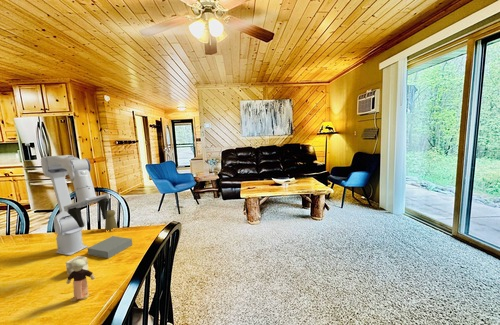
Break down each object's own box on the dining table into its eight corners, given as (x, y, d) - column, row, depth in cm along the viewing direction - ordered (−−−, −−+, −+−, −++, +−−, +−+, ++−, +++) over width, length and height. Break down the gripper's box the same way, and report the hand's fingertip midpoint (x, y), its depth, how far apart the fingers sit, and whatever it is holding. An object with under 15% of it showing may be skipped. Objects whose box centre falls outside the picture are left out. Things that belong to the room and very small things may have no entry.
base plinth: (88, 254, 93) (87, 248, 92) (113, 241, 104) (112, 235, 104) (108, 258, 89) (107, 251, 89) (132, 244, 100) (131, 238, 100)
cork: (111, 232, 115) (109, 212, 114) (102, 231, 117) (100, 212, 115) (120, 227, 121) (118, 208, 120) (111, 226, 123) (109, 208, 121)
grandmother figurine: (64, 305, 64) (59, 266, 62) (69, 297, 67) (64, 259, 66) (95, 297, 67) (91, 259, 65) (98, 289, 70) (94, 253, 69)
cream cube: (67, 274, 79) (65, 262, 78) (80, 267, 83) (78, 255, 83) (75, 276, 78) (74, 264, 77) (88, 269, 82) (86, 257, 81)
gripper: (55, 194, 75) (65, 231, 73) (102, 181, 80) (112, 216, 79) (65, 195, 81) (74, 230, 80) (108, 183, 87) (117, 215, 85)
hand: (93, 223), depth 80 cm, fingers open, 7 cm apart
